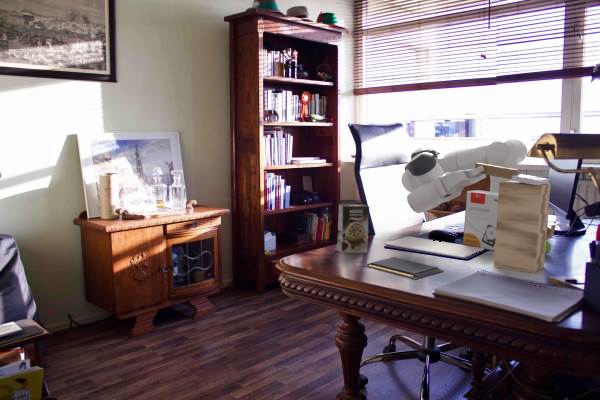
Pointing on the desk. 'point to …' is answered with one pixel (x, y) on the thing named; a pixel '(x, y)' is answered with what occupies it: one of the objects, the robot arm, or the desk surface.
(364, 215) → the cookie box
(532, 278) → the desk surface
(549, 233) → the snail figurine
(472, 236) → the hard drive box
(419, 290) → the desk surface
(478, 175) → the robot arm
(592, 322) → the desk surface
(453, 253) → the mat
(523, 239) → the stand
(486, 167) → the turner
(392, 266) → the grey book
